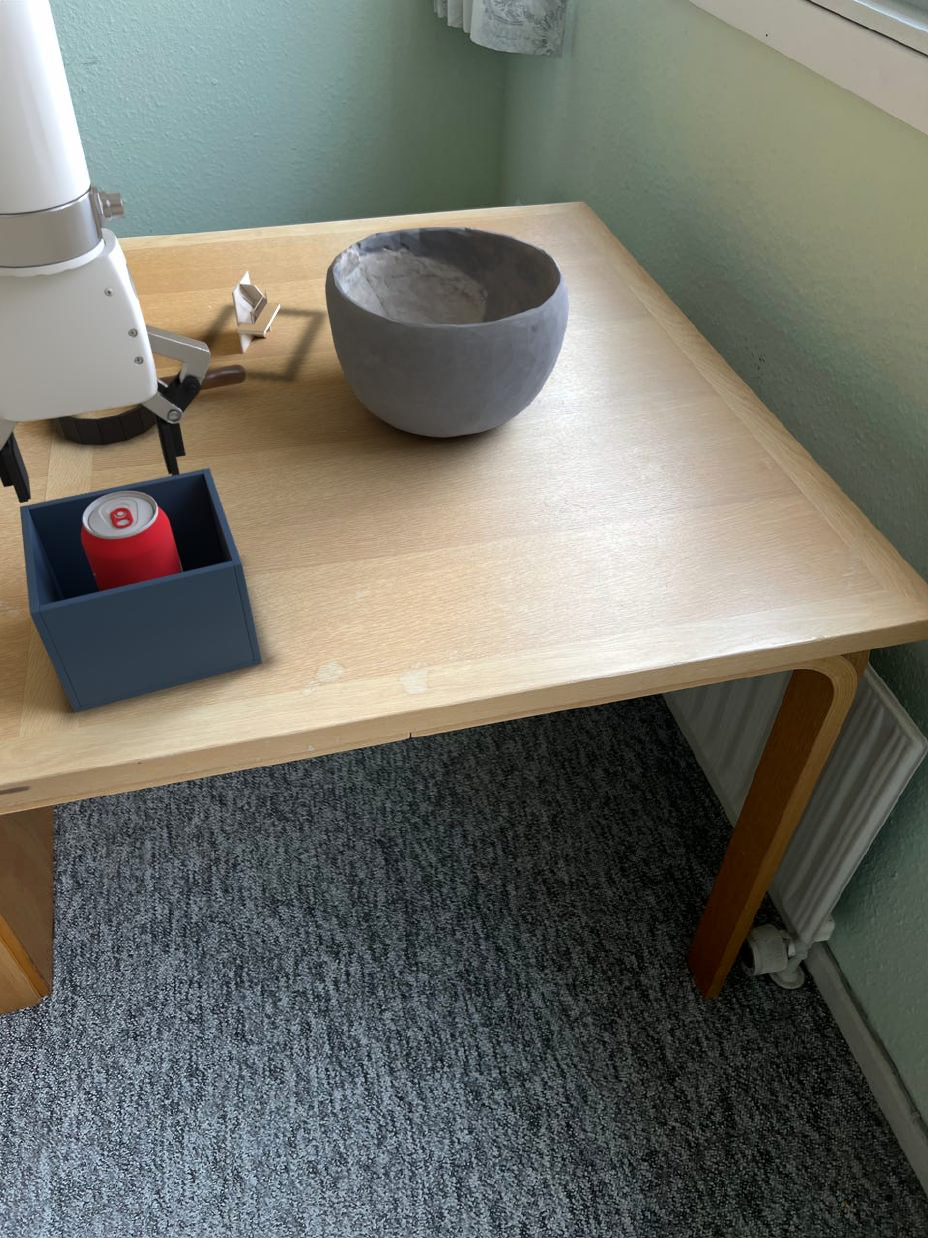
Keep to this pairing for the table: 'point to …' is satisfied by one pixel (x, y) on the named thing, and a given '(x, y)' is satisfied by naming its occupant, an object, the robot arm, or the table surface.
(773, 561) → the table surface
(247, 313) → the architectural model
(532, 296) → the bowl
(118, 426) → the pan
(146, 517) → the beverage can
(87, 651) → the bin
